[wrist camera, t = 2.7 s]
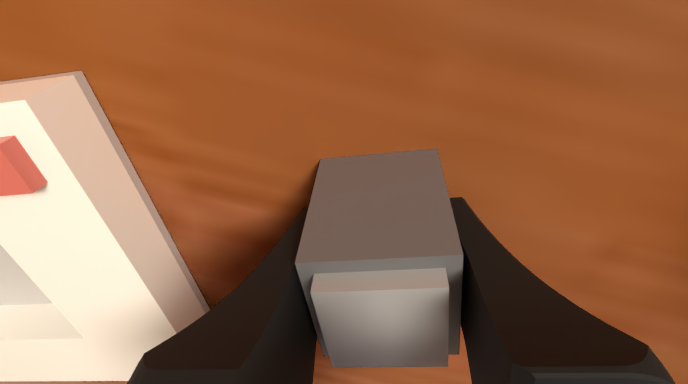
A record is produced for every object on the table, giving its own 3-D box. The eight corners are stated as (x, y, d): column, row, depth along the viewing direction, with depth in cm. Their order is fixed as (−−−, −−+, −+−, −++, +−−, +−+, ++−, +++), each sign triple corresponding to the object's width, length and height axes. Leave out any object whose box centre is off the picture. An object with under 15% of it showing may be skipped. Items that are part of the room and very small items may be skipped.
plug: (437, 237, 15) (462, 374, 11) (338, 243, 16) (320, 375, 11) (437, 148, 13) (467, 274, 8) (320, 158, 13) (290, 282, 9)
